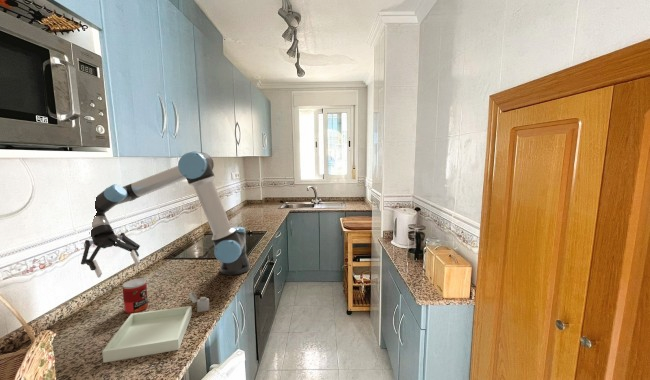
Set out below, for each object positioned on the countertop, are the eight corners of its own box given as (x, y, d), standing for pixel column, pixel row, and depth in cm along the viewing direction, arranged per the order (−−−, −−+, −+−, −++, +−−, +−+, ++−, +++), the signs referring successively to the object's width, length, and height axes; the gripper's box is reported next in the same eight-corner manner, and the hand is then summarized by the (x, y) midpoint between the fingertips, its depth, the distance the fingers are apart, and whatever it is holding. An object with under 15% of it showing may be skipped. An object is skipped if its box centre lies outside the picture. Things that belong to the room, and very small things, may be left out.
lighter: (209, 308, 107) (208, 289, 107) (208, 310, 106) (207, 291, 105) (190, 310, 106) (188, 291, 105) (189, 313, 104) (187, 293, 103)
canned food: (136, 315, 102) (134, 288, 101) (119, 313, 104) (116, 286, 103) (153, 304, 110) (151, 279, 108) (136, 302, 111) (134, 277, 110)
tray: (191, 314, 103) (191, 305, 103) (178, 349, 84) (178, 339, 84) (131, 322, 98) (131, 313, 97) (103, 362, 79) (102, 351, 78)
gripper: (129, 227, 128) (149, 264, 122) (59, 241, 107) (79, 286, 101) (134, 218, 125) (155, 254, 119) (63, 230, 103) (83, 276, 98)
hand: (120, 269), depth 110 cm, fingers open, 13 cm apart
